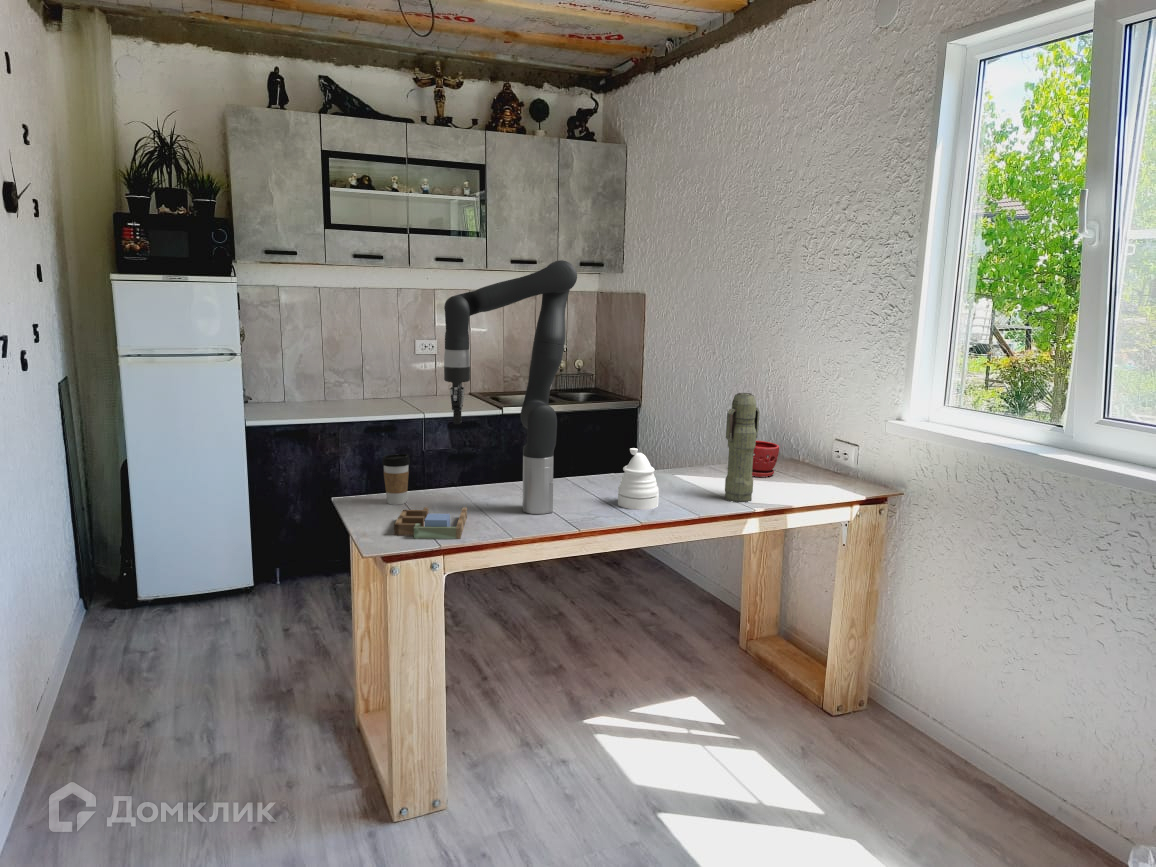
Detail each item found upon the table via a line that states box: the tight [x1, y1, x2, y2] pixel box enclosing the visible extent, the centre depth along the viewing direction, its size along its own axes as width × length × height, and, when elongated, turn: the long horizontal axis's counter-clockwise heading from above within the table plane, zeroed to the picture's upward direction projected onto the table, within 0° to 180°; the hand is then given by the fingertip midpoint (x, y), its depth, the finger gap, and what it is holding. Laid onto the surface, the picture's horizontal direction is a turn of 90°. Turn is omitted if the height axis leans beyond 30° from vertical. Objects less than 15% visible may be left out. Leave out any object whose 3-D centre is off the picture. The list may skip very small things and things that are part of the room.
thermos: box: [724, 392, 760, 503], centre depth 254 cm, size 9×12×35 cm
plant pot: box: [752, 440, 780, 478], centre depth 292 cm, size 13×13×12 cm
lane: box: [393, 506, 468, 540], centre depth 220 cm, size 20×18×3 cm
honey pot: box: [617, 447, 660, 511], centre depth 247 cm, size 13×13×18 cm
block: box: [424, 513, 451, 527], centre depth 214 cm, size 6×6×5 cm
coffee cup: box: [381, 453, 411, 506], centre depth 243 cm, size 8×8×15 cm
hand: (457, 423), depth 231 cm, fingers closed
